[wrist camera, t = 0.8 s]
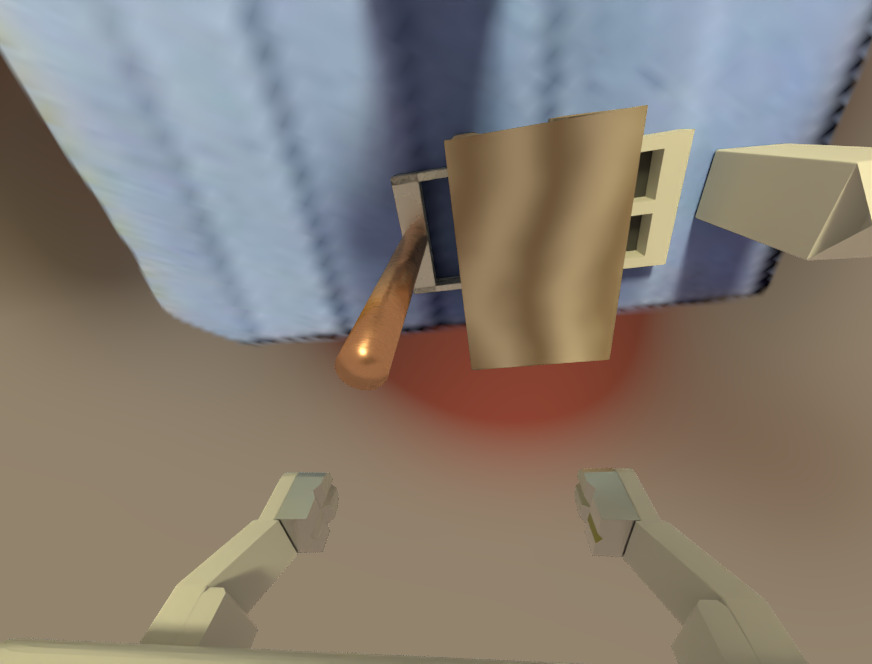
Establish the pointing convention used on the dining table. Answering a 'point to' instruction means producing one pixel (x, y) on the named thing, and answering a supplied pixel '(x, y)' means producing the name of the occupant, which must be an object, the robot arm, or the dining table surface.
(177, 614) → the robot arm
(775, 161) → the milk carton
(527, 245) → the tunnel
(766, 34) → the dining table surface
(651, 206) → the pit deck
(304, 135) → the dining table surface
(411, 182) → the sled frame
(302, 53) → the dining table surface
